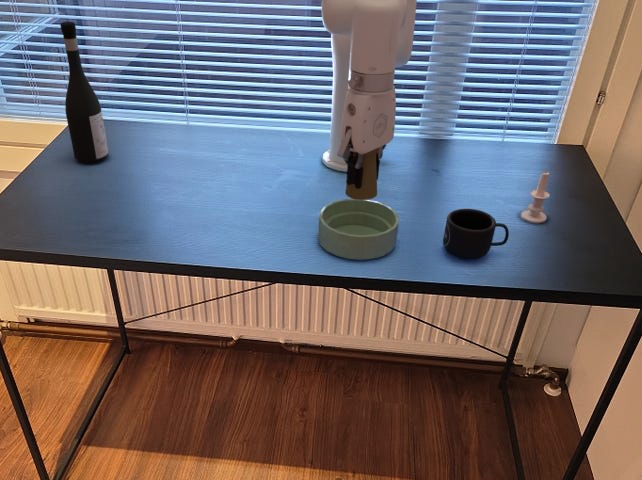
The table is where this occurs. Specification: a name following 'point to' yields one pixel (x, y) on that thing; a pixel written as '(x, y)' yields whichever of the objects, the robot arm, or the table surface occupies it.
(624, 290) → the table surface
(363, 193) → the brown rounded tall piece
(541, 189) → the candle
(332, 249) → the bowl
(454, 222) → the mug
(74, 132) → the wine bottle
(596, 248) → the table surface
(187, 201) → the table surface
